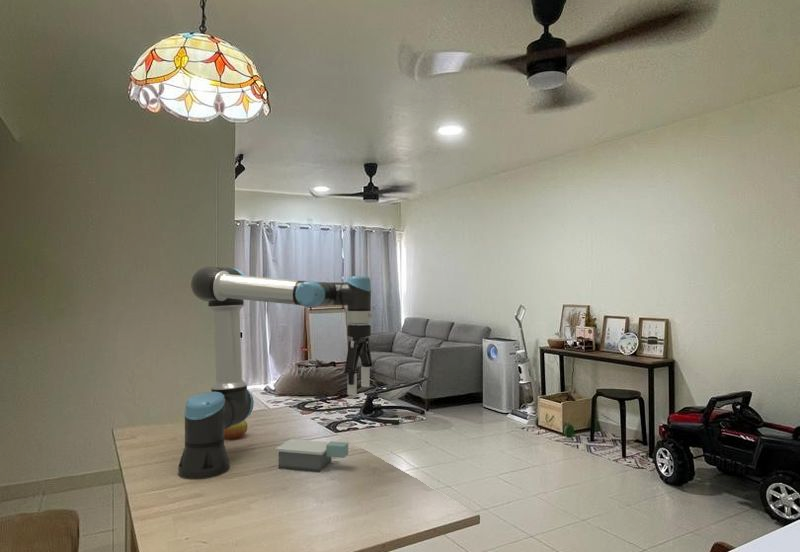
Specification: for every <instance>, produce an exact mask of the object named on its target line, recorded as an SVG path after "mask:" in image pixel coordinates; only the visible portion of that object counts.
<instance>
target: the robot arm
mask: <svg viewBox="0 0 800 552" xmlns="http://www.w3.org/2000/svg"><path fill="white" fill-rule="evenodd" d="M371 284H372V283H371V278H370V277H369V276H364V275H363V276H362V275H353V276H352V275H351V276H348V277H347V281H345V282H327V281H326V282H325V281H313V280H312V281H311V280H310V281H309V280H308V281H307V280H299V279H298V280H297V279H288V278H287V279H286V278H274V277H265V276H264V277H263V276H252V275H249V276H248V275H246V274H245V273H244V272H243V271H241V270H239V269H236V268H234V267H233V268H232V267H225V266H224V267H222V266H221V267H220V266H205V267H202V268H200V269H198V270H196V272H194V274H193V275H192V278H191V280H190V289H191V291H192V293H193V295H194V296H195V297H196V298H197V299H199V300H201V301H204V302H208V303H207V306H208V309H209V310H211V312H212V313H213V314H212V315H213V336H214V338H213V340H214V341H213V342H214V366H215V367H214V368H215V369H214V371H215V372H214V373H215V382H214V383H213V385H212V386H211V387H210V389H211V390H210V391H205V392H203V393H197V394H195V395H192V396H190V397H189V398H188V399H187V400H186V402H185V408H184V411H183V413H184V448H183V452H182V454H181V457H180V461H179V463H178V467H177V474H178V476H179V477H181V478H184V479H191V480H192V479H193V480H196V479H197V480H198V479H208V478H213V477H216V476H219V475H221V474H225V473H227V472H228V471H229V470H230V467H231V465H230V464H231V460H230V458H229V455H228V452H227V448H226V444H225V437H224V429H226V428H228V427H231V426H233V425H236V424H239V423H241V422H242V421H243V420H246V419H247V418H248V417H250V415H251V414H252V412H253V409H254V406H255V402H254V396H253V394H252V393H251V392H250V390H249V389H248V383H247V382H245V381H244V380H243V374H242V372H243V369H242V345H241V344H242V343H241V340H242V339H241V318H240V317H241V316H240V311H241V310H242V308H243V307H244V305H245V304H244V301H252V302H253V301H254V302H262V303H275V304H283V305H296V306H303V307H305V308H316V307H327V306H343V307H344V306H347V312H346V313H347V314H346V317H347V318H346V320H347V321H346V322H347V324H348V325H346V327H347V329H346V332H347V337H349V338H352V340H349V341H348V343H347V344H348V347H347V353H346V354H347V355H346V359H345V360H346V361H345V367H344V374H347V382H346V383H347V391H346V394H347V395H348V396H357V395H358V394H357V389H358V388H357V387H358V384H357V383H358V381H357V376H358V373H356V372H357V369H358V368H357V367H358V364H359V359H360V362H361V365H362V366H361V367H360V369H361V371H360V372H361V373H360V386H361V387H362V388H370V385H371V384H370V383H371V382H370V379H371V378H370V376H371V374H370V371H371V370H370V368H371V367H373V360H372V354H371V347H370V338H369V337H370V336H371V335H372V326H371V321H372V319H371V317H373V313H372V312H371V311H372V309H371V307H372V305H371V303H372V285H371Z"/></svg>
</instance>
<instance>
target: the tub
mask: <svg viewBox="0 0 800 552" xmlns="http://www.w3.org/2000/svg"><path fill="white" fill-rule="evenodd" d="M331 463H332V457H326V452H325V453H324V454H323V455H315V454H303V453H291V452H279V451H278V469H281V470H289V471H301V472H310V473H311V472H312V473H320V472H322V471H323V470H324V469H326V467H328V466H329V464H331Z"/></svg>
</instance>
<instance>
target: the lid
mask: <svg viewBox="0 0 800 552" xmlns="http://www.w3.org/2000/svg"><path fill="white" fill-rule="evenodd" d="M274 451H275V452H278V453H279V452H291V453H303V454H315V455H323V454H324V453H325V452H326V457H331V458H337V459H338V458H340V459H345V458H346V457H347V456H348V455H349V442H345V441H343V442H341V441H322V440H321V441H320V440H307V439H296V438H295V439H293V438H290V439H289V440H287V441H285V442H283V443H282V444H280V445H279V446H277V447H275V450H274Z"/></svg>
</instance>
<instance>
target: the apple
mask: <svg viewBox="0 0 800 552" xmlns="http://www.w3.org/2000/svg"><path fill="white" fill-rule="evenodd" d="M247 431H248V423H247V420H246V419H245V420H243V421H242V422H241V423H239V424H236V425H233V426H231V427H228V428H226V429H224V439H227V440H236V439H240V438H242V437H243V436H244V435H245V434H246V432H247Z"/></svg>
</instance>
